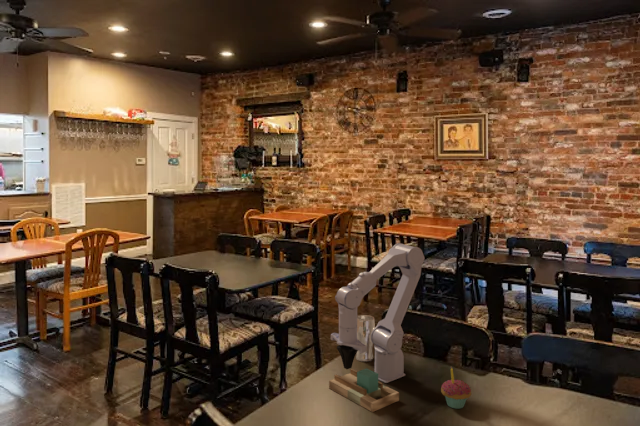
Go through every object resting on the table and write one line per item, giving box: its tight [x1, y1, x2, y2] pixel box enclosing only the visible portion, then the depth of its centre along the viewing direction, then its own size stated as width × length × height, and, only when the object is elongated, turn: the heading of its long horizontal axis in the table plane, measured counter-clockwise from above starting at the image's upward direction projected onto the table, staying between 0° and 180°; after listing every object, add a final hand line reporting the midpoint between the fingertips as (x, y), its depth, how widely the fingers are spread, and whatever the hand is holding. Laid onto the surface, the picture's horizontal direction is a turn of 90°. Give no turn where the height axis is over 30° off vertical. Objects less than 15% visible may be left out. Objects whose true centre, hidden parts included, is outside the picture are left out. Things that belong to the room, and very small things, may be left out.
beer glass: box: [355, 314, 376, 363], centre depth 181 cm, size 7×7×15 cm
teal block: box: [357, 368, 379, 394], centre depth 153 cm, size 4×5×5 cm
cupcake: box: [440, 366, 472, 410], centre depth 148 cm, size 9×8×12 cm
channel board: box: [328, 368, 400, 413], centre depth 154 cm, size 11×19×4 cm, turn 39°
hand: (347, 367), depth 160 cm, fingers closed
